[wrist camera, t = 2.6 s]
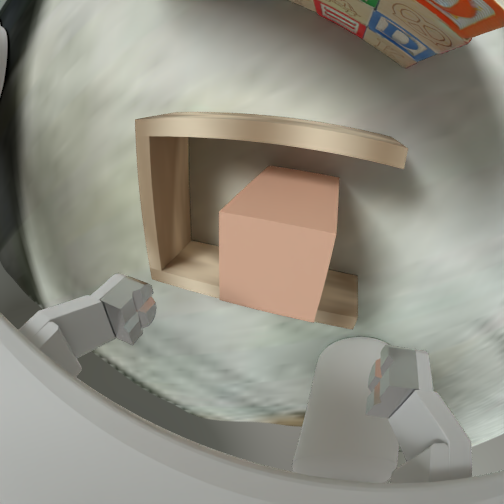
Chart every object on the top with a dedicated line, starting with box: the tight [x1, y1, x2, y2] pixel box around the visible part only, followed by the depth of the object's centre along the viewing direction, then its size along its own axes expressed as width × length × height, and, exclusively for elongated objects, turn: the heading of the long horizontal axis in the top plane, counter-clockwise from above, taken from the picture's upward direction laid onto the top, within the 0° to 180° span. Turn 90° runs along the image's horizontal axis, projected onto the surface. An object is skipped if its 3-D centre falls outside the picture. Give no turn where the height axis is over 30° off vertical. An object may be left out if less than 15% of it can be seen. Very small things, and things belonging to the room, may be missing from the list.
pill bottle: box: [292, 337, 399, 483], centre depth 18 cm, size 8×8×15 cm
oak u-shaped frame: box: [135, 112, 408, 329], centre depth 17 cm, size 14×11×4 cm
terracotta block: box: [219, 166, 339, 323], centre depth 15 cm, size 4×4×8 cm
